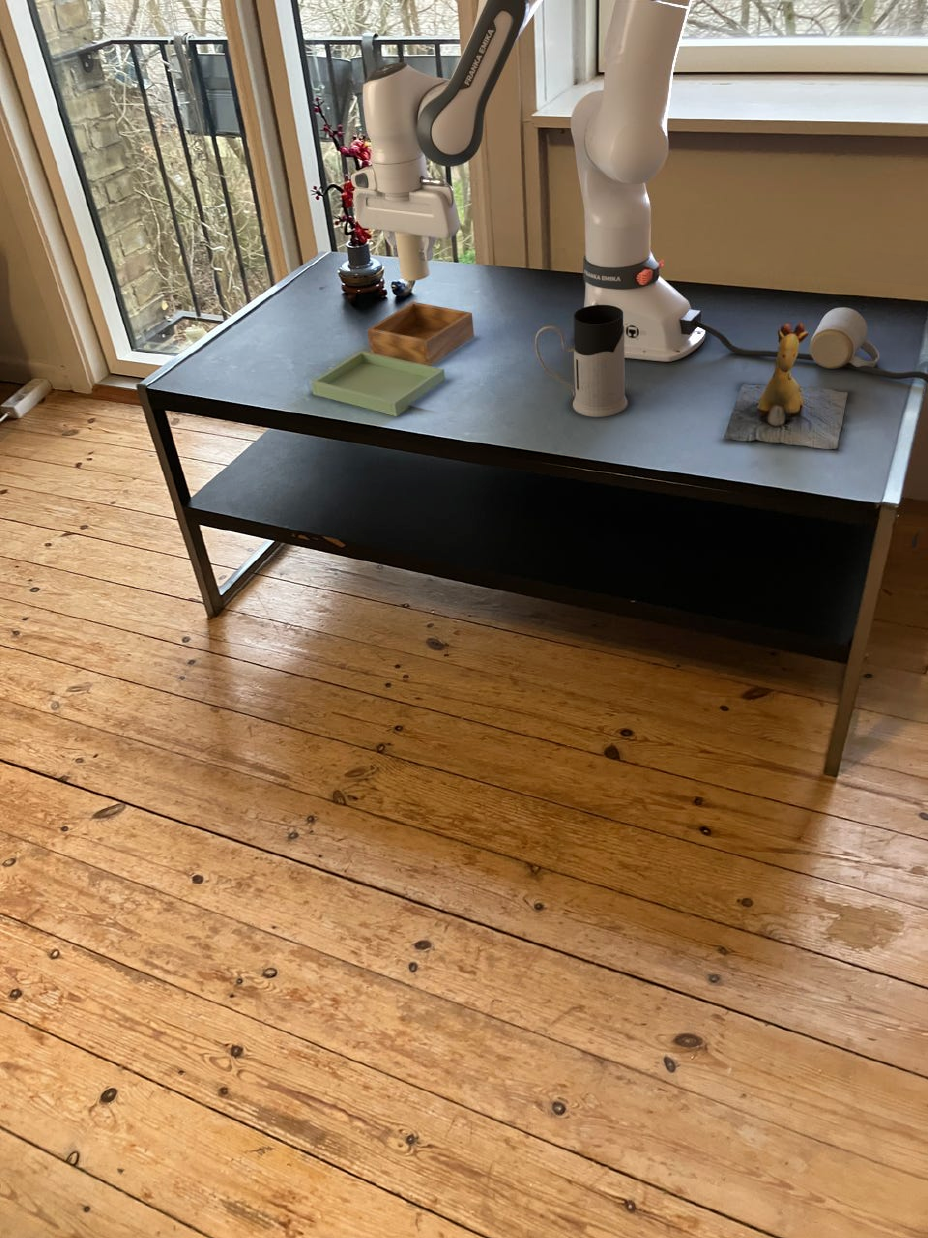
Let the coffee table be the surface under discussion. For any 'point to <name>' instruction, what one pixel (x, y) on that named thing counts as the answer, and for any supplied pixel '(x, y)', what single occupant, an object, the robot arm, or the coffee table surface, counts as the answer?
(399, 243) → the candle
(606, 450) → the coffee table surface
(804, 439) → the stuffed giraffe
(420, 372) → the tray
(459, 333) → the wooden box
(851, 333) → the ceramic mug
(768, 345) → the coffee table surface
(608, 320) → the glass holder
